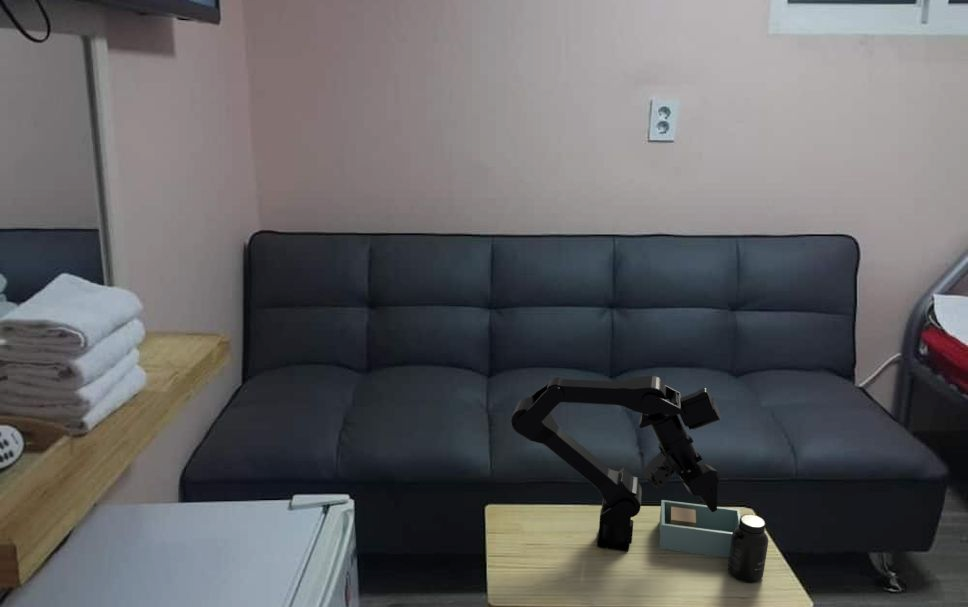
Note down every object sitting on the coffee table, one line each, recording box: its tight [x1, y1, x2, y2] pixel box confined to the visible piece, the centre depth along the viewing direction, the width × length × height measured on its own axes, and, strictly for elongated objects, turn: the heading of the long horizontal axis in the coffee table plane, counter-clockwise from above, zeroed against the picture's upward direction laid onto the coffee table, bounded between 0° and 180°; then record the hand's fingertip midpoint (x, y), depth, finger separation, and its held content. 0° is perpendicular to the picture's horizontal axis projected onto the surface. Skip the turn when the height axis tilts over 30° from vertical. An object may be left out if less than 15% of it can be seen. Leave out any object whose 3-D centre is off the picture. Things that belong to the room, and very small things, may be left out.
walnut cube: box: [669, 507, 696, 528], centre depth 171 cm, size 5×5×5 cm
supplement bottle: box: [727, 513, 769, 584], centre depth 159 cm, size 7×7×12 cm
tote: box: [658, 499, 742, 559], centre depth 170 cm, size 16×10×6 cm, turn 79°
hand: (705, 502), depth 163 cm, fingers open, 9 cm apart
